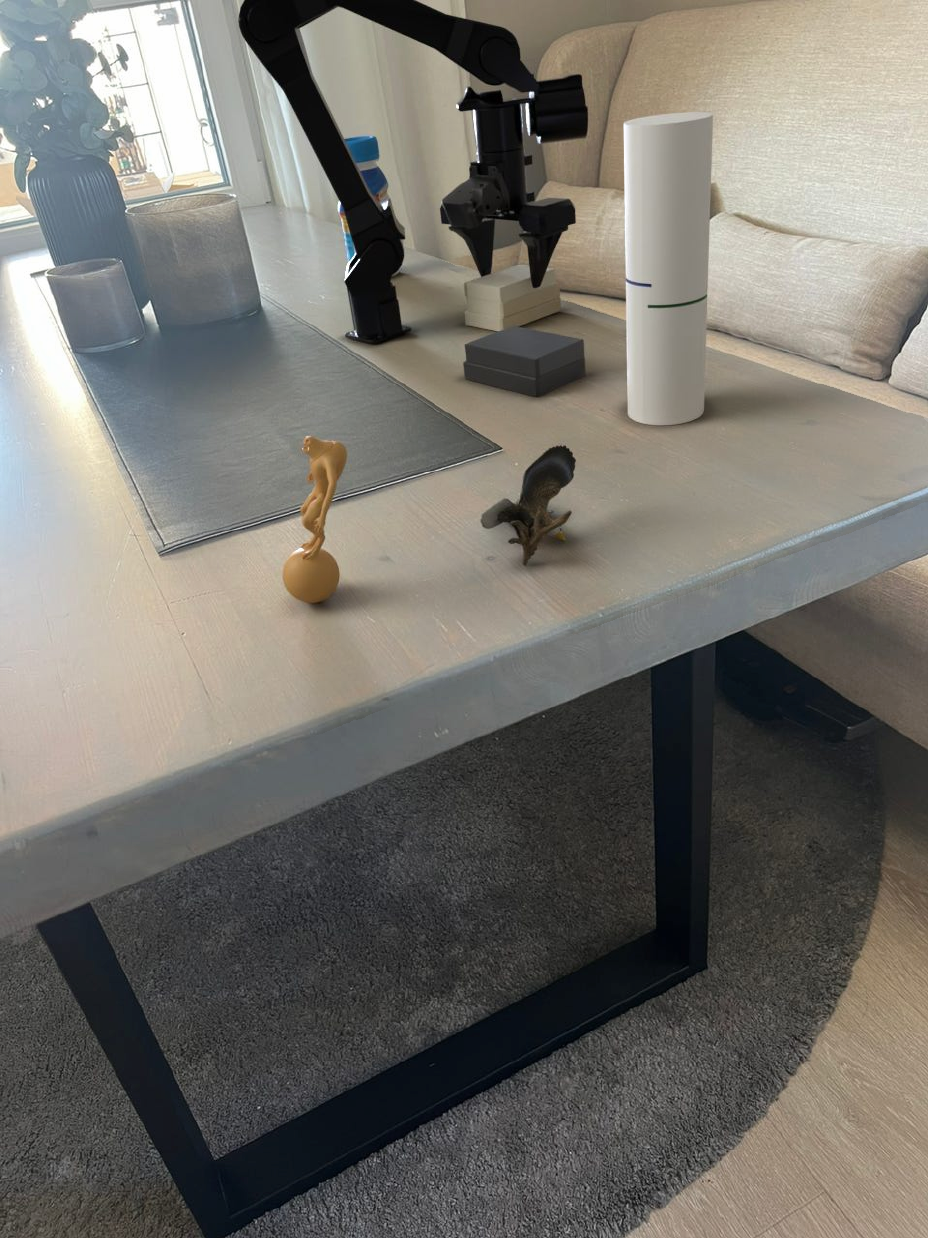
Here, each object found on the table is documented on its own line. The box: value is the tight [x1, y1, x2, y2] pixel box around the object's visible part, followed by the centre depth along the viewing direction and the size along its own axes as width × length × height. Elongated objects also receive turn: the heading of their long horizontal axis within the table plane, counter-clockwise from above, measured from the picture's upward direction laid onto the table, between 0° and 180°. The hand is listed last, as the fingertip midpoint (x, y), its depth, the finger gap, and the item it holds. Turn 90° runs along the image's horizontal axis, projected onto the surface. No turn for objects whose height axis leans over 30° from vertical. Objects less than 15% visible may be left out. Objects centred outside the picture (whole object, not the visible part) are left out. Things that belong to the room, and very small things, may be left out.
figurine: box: [282, 435, 348, 604], centre depth 64 cm, size 8×6×12 cm
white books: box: [464, 282, 562, 332], centre depth 122 cm, size 11×7×4 cm
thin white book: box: [463, 263, 557, 303], centre depth 120 cm, size 10×7×2 cm, turn 132°
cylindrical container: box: [623, 111, 714, 426], centre depth 83 cm, size 7×7×25 cm
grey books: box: [462, 326, 586, 398], centre depth 101 cm, size 11×8×4 cm
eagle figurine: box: [479, 444, 577, 566], centre depth 70 cm, size 8×7×9 cm
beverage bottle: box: [337, 135, 401, 277], centre depth 147 cm, size 8×8×20 cm
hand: (510, 283), depth 120 cm, fingers open, 9 cm apart
